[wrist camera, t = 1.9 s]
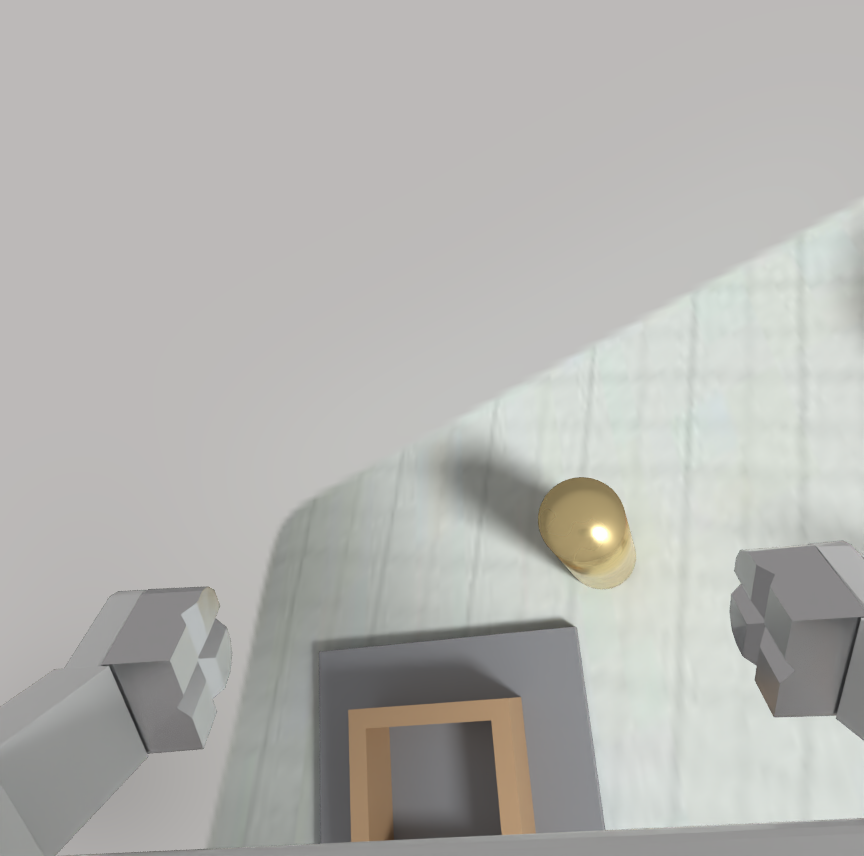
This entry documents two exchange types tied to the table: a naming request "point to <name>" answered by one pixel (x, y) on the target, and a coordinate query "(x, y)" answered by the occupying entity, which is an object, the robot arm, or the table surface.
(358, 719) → the plate
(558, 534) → the brass tube
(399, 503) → the table surface
